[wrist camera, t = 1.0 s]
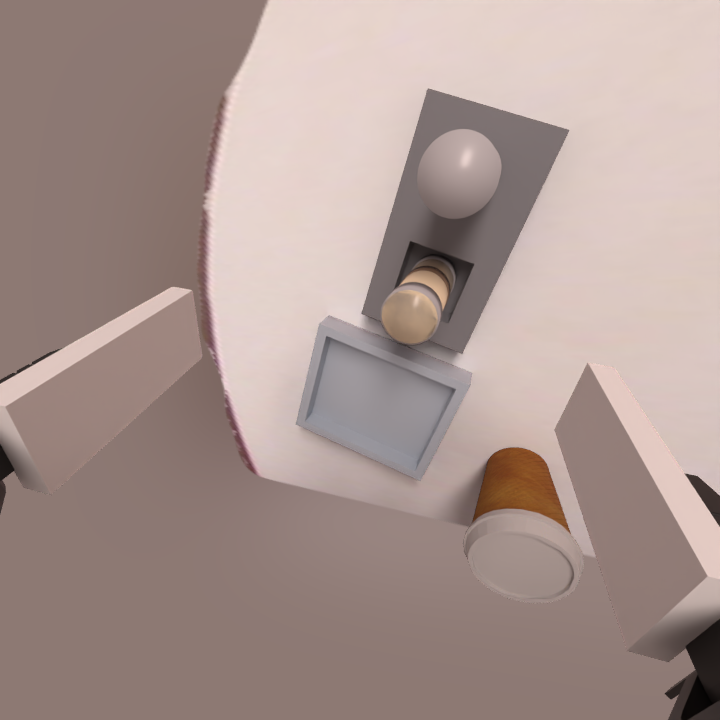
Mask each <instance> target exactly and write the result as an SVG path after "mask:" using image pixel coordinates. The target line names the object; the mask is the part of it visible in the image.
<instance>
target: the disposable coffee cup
mask: <svg viewBox="0 0 720 720" xmlns="http://www.w3.org/2000/svg"><path fill="white" fill-rule="evenodd" d="M463 544H464V552H465V555H466V557H467V559H468V563H469V565H470V568H471V571H472V572H473V573H474V575H475V576H476V577H477V579H478V580H479V581H480V582H481V583H483V584H484V585H485V586H486V587H488V588H489V589H491V590H492V591H494V592H496V593H498V594H499V595H502V596H505V597H507V598H510V599H514V600H518V601H523V602H527V603H547V602H552V601H557V600H560V599H562V598H564V597H566V596H568V595H569V594H571V593H572V592H573V591H574V589H575V588H576V587H577V585H578V582H579V578H580V575H581V574H582V571H583V566H584V559H583V554H582V551H581V549H580V547H579V545H578V544H577V542H576V540H575V539H574V538H573V537H572V535H571V533H570V530H569V528H568V524H567V522H566V519H565V516H564V513H563V510H562V507H561V504H560V502H559V498H558V495H557V493H556V490H555V487H554V484H553V481H552V478H551V475H550V472H549V469H548V466H547V464H546V462H545V461H544V460H543V459H542V458H541V457H540V456H539V455H537V454H536V453H534V452H532V451H530V450H527V449H523V448H506V449H502V450H499V451H498V452H496V453H494V454H493V455H492V456H491V457H490V459H489V460H488V463H487V467H486V471H485V475H484V479H483V483H482V486H481V490H480V494H479V498H478V502H477V506H476V510H475V514H474V518H473V522H472V524H471V526H470V527H469V528H468V530H467V531H466V534H465V537H464V541H463Z"/></svg>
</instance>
